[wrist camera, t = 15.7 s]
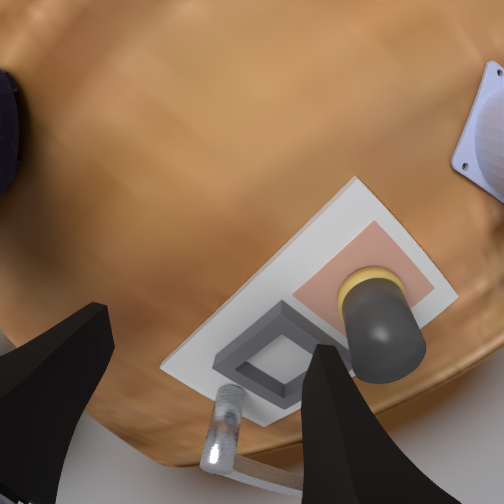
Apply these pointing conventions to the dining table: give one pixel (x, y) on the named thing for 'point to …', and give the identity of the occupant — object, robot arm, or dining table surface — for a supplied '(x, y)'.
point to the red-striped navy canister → (8, 132)
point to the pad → (355, 257)
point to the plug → (379, 325)
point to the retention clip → (225, 443)
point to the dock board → (291, 312)
